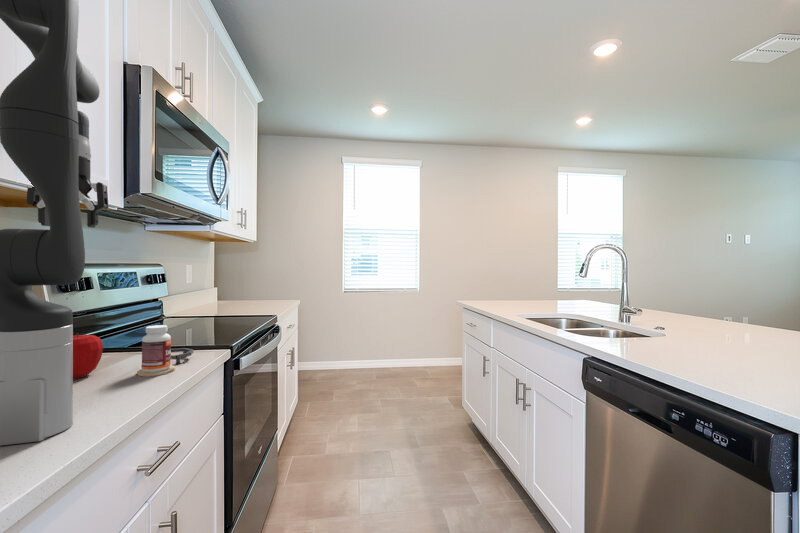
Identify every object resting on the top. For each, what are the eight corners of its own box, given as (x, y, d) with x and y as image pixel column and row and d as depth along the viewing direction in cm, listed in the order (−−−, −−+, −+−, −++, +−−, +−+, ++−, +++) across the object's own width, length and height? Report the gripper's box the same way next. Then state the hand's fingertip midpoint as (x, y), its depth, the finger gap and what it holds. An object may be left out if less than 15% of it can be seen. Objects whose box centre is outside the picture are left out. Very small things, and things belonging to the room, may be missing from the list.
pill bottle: (171, 370, 94) (171, 327, 93) (141, 374, 90) (141, 329, 90) (170, 364, 99) (170, 323, 99) (141, 368, 95) (142, 325, 95)
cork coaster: (169, 374, 92) (169, 372, 92) (132, 377, 89) (132, 375, 89) (178, 366, 99) (178, 364, 99) (143, 368, 97) (143, 366, 97)
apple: (113, 371, 94) (113, 329, 94) (74, 383, 85) (74, 336, 85) (80, 370, 96) (80, 328, 96) (38, 381, 86) (38, 335, 86)
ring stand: (188, 363, 102) (188, 355, 102) (147, 366, 99) (147, 357, 99) (195, 355, 111) (195, 347, 111) (158, 357, 108) (158, 349, 108)
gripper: (18, 147, 79) (18, 223, 79) (98, 154, 83) (98, 226, 83) (40, 157, 86) (40, 227, 86) (113, 162, 90) (113, 229, 90)
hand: (69, 226), depth 85 cm, fingers open, 8 cm apart
